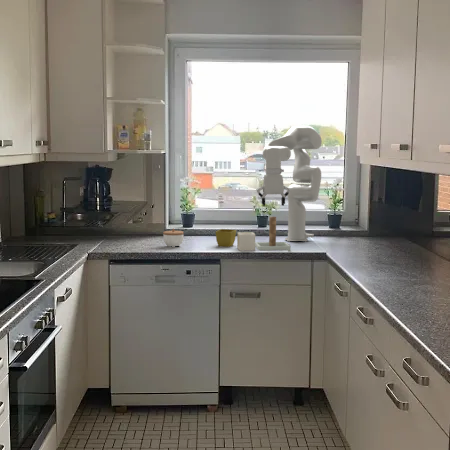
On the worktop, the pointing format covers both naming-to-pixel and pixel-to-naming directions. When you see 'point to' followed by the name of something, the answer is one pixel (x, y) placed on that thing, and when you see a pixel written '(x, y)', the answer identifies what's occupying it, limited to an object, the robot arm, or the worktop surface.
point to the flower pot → (225, 237)
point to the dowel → (272, 231)
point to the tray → (266, 247)
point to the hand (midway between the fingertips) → (273, 205)
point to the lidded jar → (173, 238)
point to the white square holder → (245, 241)
